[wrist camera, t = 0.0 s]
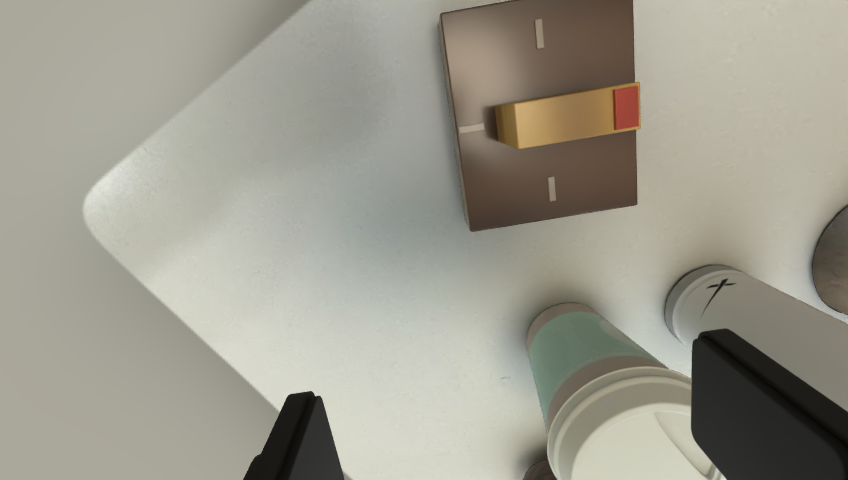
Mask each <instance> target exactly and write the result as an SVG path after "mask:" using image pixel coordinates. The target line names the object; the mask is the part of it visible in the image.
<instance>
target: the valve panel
mask: <svg viewBox="0 0 848 480" xmlns="http://www.w3.org/2000/svg"><path fill="white" fill-rule="evenodd" d="M438 33H439V40H440V47H441V54H442V61H443V68H444V75H445V82H446V89H447V96H448V103H449V110H450V117H451V124H452V131H453V138H454V145H455V152H456V159H457V166H458V173H459V180H460V187H461V194H462V201H463V208H464V215H465V220H466V223H467V225H468V227H469V229H470V231H471V232H475V231H481V230H487V229H493V228H500V227H506V226H512V225H518V224H524V223H530V222H536V221H542V220H549V219H555V218H561V217H567V216H573V215H579V214H585V213H591V212H598V211H604V210H610V209H616V208H622V207H628V206H634V205H637V161H636V130H630V131H624V132H618V133H612V134H606V135H600V136H594V137H588V138H582V139H577V140H571V141H565V142H559V143H553V144H547V145H541V146H535V147H529V148H523V149H517V148H515V147H512V146H509V145H506V144H504V143H501V142H499V141H498V132H497V124H496V115H495V105H499V104H505V103H510V102H516V101H522V100H528V99H533V98H539V97H545V96H551V95H556V94H562V93H568V92H574V91H580V90H585V89H591V88H598V87H605V86H612V85H619V84H626V83H634V82H635V70H634V25H633V0H510V1H505V2H499V3H494V4H488V5H483V6H477V7H472V8H466V9H461V10H455V11H450V12H444V13H441V14H440V17H439V22H438Z"/></svg>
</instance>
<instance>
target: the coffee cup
mask: <svg viewBox="0 0 848 480" xmlns="http://www.w3.org/2000/svg"><path fill="white" fill-rule="evenodd" d="M526 347H527V352H528V356H529V360H530V365H531V369H532V373H533V377H534V381H535V385H536V389H537V393H538V397H539V401H540V406H541V410H542V414H543V418H544V422H545V426H546V430H547V434H548V440H547V455H548V460H549V464H550V467H551V469H552V471H553V473H554V475H555V477H556V478H557V480H727V479H726V478H725V477H724V476H723V475H722V474H721V472H720V471H719V470H718V469H717V468H716V466H715V465H714V464H713V463H712V462H711V460H710V459H709V458H708V457H707V456H706V454H705V453H704V452H703V451H702V450H701V449H700V447H699V446H698V445H697V443H696V442H695V440H694V438H693V436H692V432H691V383H692V379H691V378H689V377H687V376H685V375H683V374H681V373H679V372H676V371H673V370H670V369H669V368H667V367H666V366H665V365H663V364H662V363H661V362H660V361H658V360H657V359H656V358H654V357H653V356H652V355H651V354H649V353H648V352H647V351H645V350H644V349H643V348H642V347H640V346H639V345H638V344H636V343H635V342H634V341H633V340H631V339H630V338H629V337H627V336H626V335H625V334H624V333H622V332H621V331H620V330H618V329H617V328H616V327H615V326H613V325H612V324H611V323H609V322H608V321H607V320H606V319H604V318H603V317H601V316H600V315H599V314H598V313H596V312H595V311H594V310H592V309H591V308H589V307H587V306H584V305H581V304H577V303H563V304H558V305H555V306H552V307H550V308H548V309H546V310H545V311H543V312H542V313H541V314H539V315H538V316H537V317H536V318H535V320H534V321H533V322H532V324H531V326H530V328H529V330H528V333H527V337H526Z"/></svg>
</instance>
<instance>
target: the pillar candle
mask: <svg viewBox="0 0 848 480" xmlns="http://www.w3.org/2000/svg"><path fill="white" fill-rule="evenodd" d="M812 268H813V278H814V282H815V285H816V289H817V292H818V294H819V296H820V298H821V299H822V300H823V302H824V303H825V304H826V305H828V306H829V307H830V308H832V309H834V310H835V311H837V312H840V313H844V314H846V315H848V207H847V208H845V209H844V210H843V211H841V213H840V214H839V215H837V217H836V218H835V219H834V220H833V221H832V223H831V224H830V225H829V226H828V227H827V229H826V230H825V231H824V233H823V234H822V236H821V239H820V241H819V243H818V245H817V248H816V252H815V255H814V260H813V267H812Z"/></svg>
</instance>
